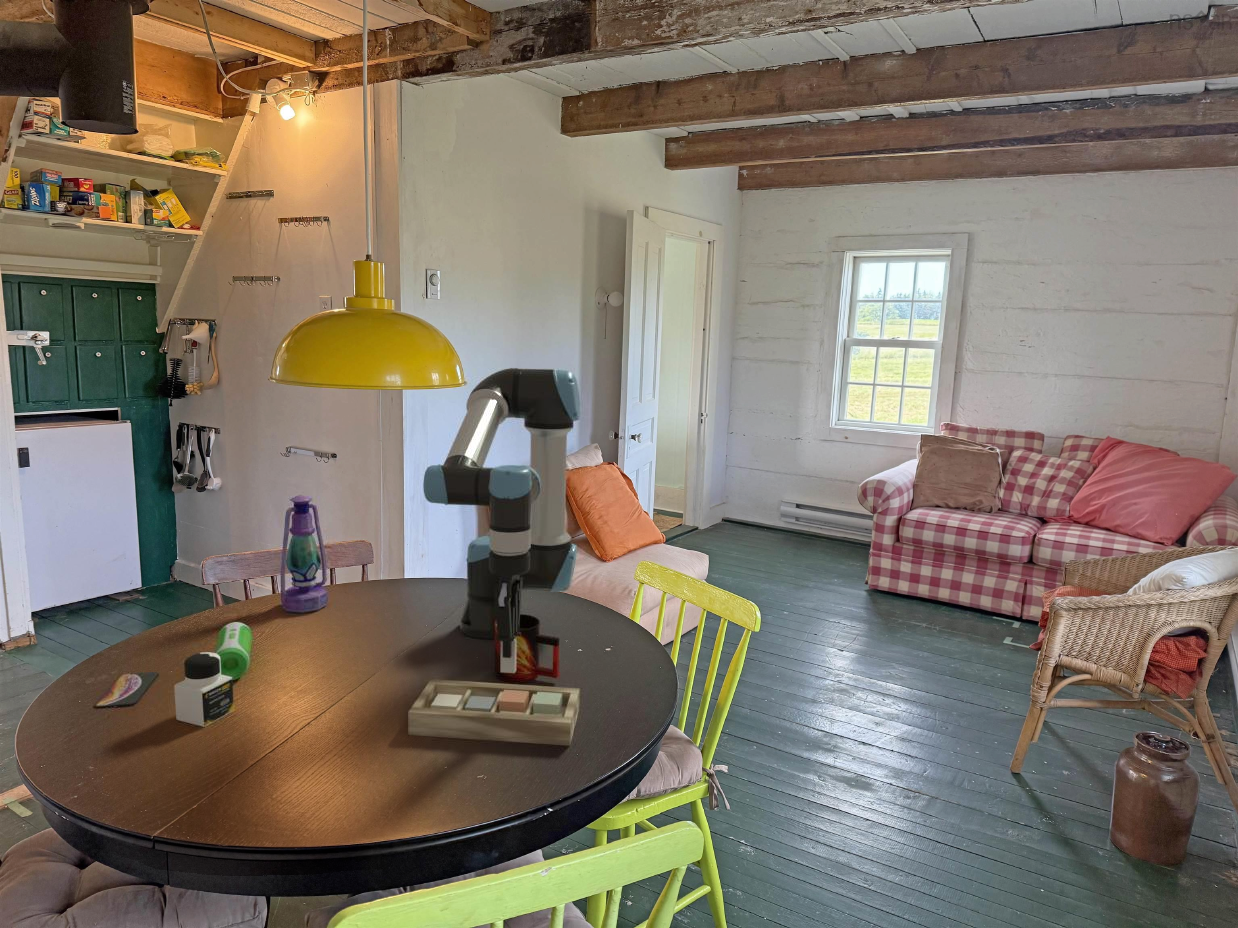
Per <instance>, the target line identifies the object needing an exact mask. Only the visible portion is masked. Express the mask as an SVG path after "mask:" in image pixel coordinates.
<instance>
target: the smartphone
mask: <svg viewBox="0 0 1238 928" xmlns="http://www.w3.org/2000/svg"><path fill="white" fill-rule="evenodd" d="M159 675H160V674H159V672H158V671H149V672H135V673H125V674H121V675H119V677H118V678H116V680H115V681H114V682H113V683H112V684H111V686H110V687H109V688H108V689H107V690H106V692H105V693H104V694H103V695H102V696H101V697H100V698H99V699H98V701H97V702H96V703H95V704H94V706H93V708H95V709H111V708H110V707H114V706H116V707H114V708H126V707H125V706H128V707H134V706H135V704H136V705H137V704H138V703H139V701H140V700H141V699H142V698H143V696H144V695H145V694H146V692H147V691H148V690H149V688H150V687H151V686H152V685H153V683H154V682H155V680H156V679H157V678H158V677H159ZM122 706H123V707H122ZM106 707H108V708H106Z"/></svg>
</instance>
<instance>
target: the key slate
mask: <svg viewBox="0 0 1238 928" xmlns="http://www.w3.org/2000/svg"><path fill="white" fill-rule="evenodd" d="M495 702H496V697H482V696H471V697H470V699H469V701H468V703H467V704H466V706H465V711H480V712H491V710H492V708H493V706H494V704H495Z"/></svg>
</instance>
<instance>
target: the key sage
mask: <svg viewBox="0 0 1238 928" xmlns="http://www.w3.org/2000/svg"><path fill="white" fill-rule="evenodd" d="M561 705H562V693H549V692H537V695H536V697H535V700H534V703H533V713H538V714H553V715H559V712H560V708H561Z"/></svg>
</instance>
